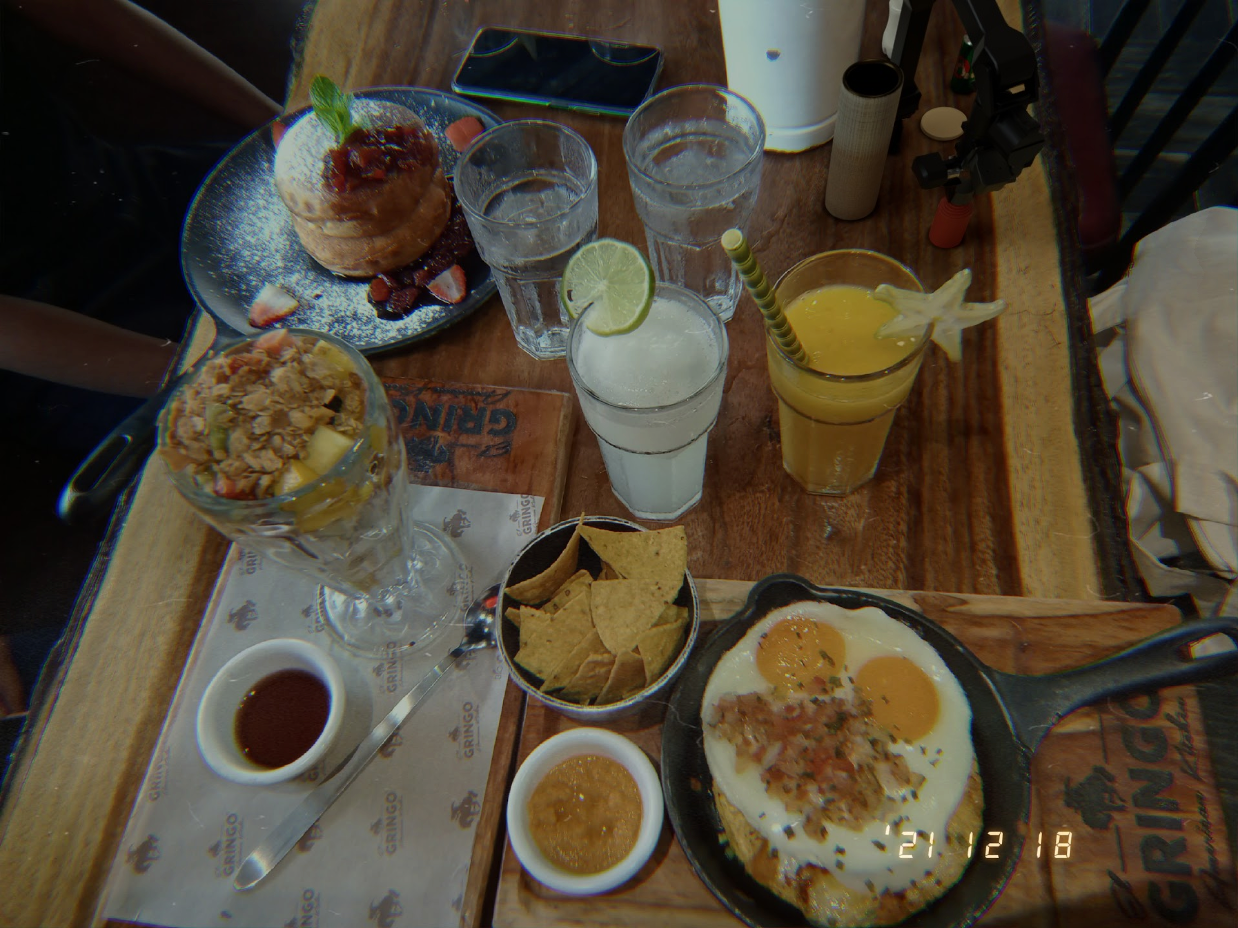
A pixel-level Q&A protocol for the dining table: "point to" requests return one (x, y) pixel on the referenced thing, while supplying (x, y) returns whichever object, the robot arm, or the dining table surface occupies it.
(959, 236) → the sauce bottle
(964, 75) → the soda can
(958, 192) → the cap
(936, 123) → the coaster
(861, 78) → the vase
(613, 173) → the dining table surface
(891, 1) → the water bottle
